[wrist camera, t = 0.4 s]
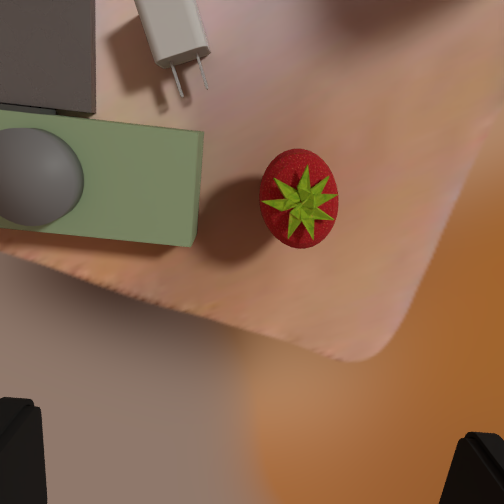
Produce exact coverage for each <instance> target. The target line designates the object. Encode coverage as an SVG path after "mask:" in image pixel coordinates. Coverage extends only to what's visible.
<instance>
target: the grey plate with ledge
mask: <svg viewBox="0 0 504 504" xmlns="http://www.w3.org/2000/svg"><path fill="white" fill-rule="evenodd" d="M0 102H2V103H11V104H19V105H28V106H37V107H45V108H54V109H63V110H72V111H80V112H89V113H96V50H95V0H0Z"/></svg>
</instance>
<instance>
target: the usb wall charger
mask: <svg viewBox="0 0 504 504" xmlns="http://www.w3.org/2000/svg"><path fill="white" fill-rule="evenodd" d="M134 1H135V4H136V7H137V10H138V13H139V16H140V19H141V22H142V25H143V28H144V31H145V34H146V37H147V40H148V43H149V46H150V49H151V52H152V55H153V58H154V61H155V64H157V65H158V66H160V67H161V68H170V67H171V68H172V71H173V74H174V77H175V81H176V84H177V87H178V90H179V93H180V96H181V97H184V96H183V92H182V89H181V86H180V83H179V80H178V77H177V73H176V70H175V67H174V66H176V65H179V64H182V63H185V62H189V61H192V60H195V59H197V61H198V64H199V67H200V70H201V74H202V77H203V80H204V84H205V87H206V89H207V90H208V85H207V82H206V78H205V75H204V72H203V68H202V65H201V62H200V58H201V57H204V56H207V55H209V54H210V53H211V52H210V48H209V45H208V42H207V38H206V35H205V31H204V28H203V24H202V21H201V18H200V14H199V11H198V7H197V4H196V1H195V0H134Z"/></svg>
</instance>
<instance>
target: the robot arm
mask: <svg viewBox="0 0 504 504" xmlns="http://www.w3.org/2000/svg"><path fill="white" fill-rule="evenodd" d="M0 504H47V487H46V473H45V459H44V445H43V431H42V417H41V409H40V408H39V407H35V406H34V403H33V401H32V400H31V399H24V398H11V397H3V398H1V399H0ZM439 504H504V440H503V439H502V438H501V437H500V436H499V435H497V434H495V433H482V432H468V433H467V434H466V435H465V437H464V438H461V439H460V440H459V441H458V444H457V447H456V450H455V453H454V457H453V460H452V463H451V466H450V470H449V472H448V476H447V479H446V482H445V485H444V489H443V492H442V495H441V498H440V502H439Z"/></svg>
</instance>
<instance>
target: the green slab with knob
mask: <svg viewBox="0 0 504 504" xmlns="http://www.w3.org/2000/svg"><path fill="white" fill-rule="evenodd" d="M203 139H204V132H201V131H192V130H184V129H175V128H166V127H157V126H149V125H140V124H131V123H122V122H114V121H105V120H96V119H87V118H79V117H70V116H61V115H56V110H52V109H43V108H34V107H26V106H17V105H8V104H0V228H7V229H16V230H26V231H36V232H46V233H56V234H66V235H75V236H85V237H95V238H105V239H115V240H125V241H135V242H144V243H154V244H164V245H174V246H184V247H191V246H192V244H193V241H194V239H195V237H196V235H197V225H198V211H199V196H200V182H201V168H202V154H203Z"/></svg>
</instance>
